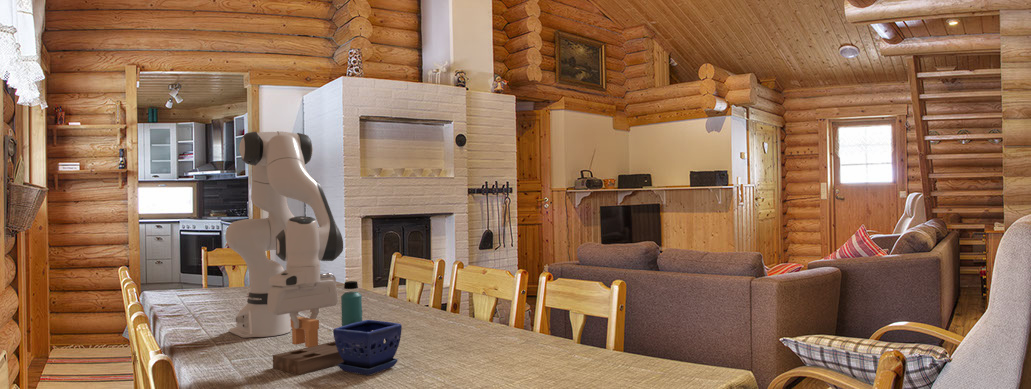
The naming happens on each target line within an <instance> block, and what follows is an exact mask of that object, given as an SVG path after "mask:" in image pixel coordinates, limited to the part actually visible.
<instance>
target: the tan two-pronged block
mask: <svg viewBox="0 0 1031 389" xmlns="http://www.w3.org/2000/svg"><path fill="white" fill-rule="evenodd" d="M297 318H298V320H299V321H302V328H298V329H296V328H294V322H293V321H292V319H291V318H290V322H291V327H292V329H291V333H292V334H291V336H292V338H291V339H292V342H291V343H292V345H302V344H304V348H307V347H314V346H318V345H319V330H320V320H319V319H317V318H316V319H310V317H304V316H297Z"/></svg>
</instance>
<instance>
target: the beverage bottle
mask: <svg viewBox="0 0 1031 389" xmlns="http://www.w3.org/2000/svg"><path fill="white" fill-rule="evenodd" d="M358 283H359V282H358V281H355V280H350V281H345V282H344V286H343V289H344V290H354V289H356V290H357V289H358V288H359V284H358ZM362 297H363V295H362V294H361V293H360V292H359V291H346V292H344V293H342V295H341V297H340V300H341V303H340V304H341V306H340V307H341V308H340V309H341V324H340V326H345V325H349V324H352V323H356V322H360V321H363V320H364V318H363V306H362V305H363V302H362V301H363V299H362Z"/></svg>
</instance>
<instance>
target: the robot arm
mask: <svg viewBox="0 0 1031 389" xmlns="http://www.w3.org/2000/svg"><path fill="white" fill-rule="evenodd" d="M238 147H239V154H240V157H241V159H242V161H243V163H245V164H247V165H250V166H252V174H251V190H250V191H251V192H250V194H251V195H250V200H251V202H252V204H253V205H254V206H255V207H257V209H260V210H262V211H265V212H267V213H268V217H264V218H245V219H240V220H237V221H236V220H235V221H232V222H231V223H230V224H228V226H227V229H226V230H225V241H226V244H227V246H228V247H229V249H231V250H233V251H234V253H236V254H238V255H239V256H240V257H241V258H242V260H243V261H244V262H245V265H246V266H247V267H246V268H247V270H248V276H249V288H250V289H249V290H250V291H249V293H248V295H247V296H246V298H247V304H245V306H243V308H242V309H241V310H240V311H238V313H237V315H236V317H235V322H236V326H234V327H230V328H229V329H228V332H229V333H231V334H233V335H236V336H238V337H241V338H243V339H245V338H263V337H264V338H265V337H275V336H281V335H284V334H287V333H290V332H292V327H291V319H292V321H293V322H294V328H296V329H298V328H302V321H299V320H298V318H297V317H299V312H305V311H309V313H311V314H310V316H309V318H310V319H317V317H318V315H319V313H320V310H319V309H323V308H327V307H333V306H337V304H338V302H339V295H338V289H337V279H336V278H337V277H336V276H335V275H334V274H332V273H331V272H327V273H321V262H333V261H334V260H336V259H338V257H340V255H341V254H342V253H343V252H344V251H343V250H344V238H343V235H342V233H341V231H340V229H339V227H338V225H337V223H336V221H335V219H334V215H333V213H332V210H331V207H330V205H329V202H328V200H327V196H326V195H325V192H324V189H323V188H322V185H321V184H320V182H319V181H318V180H316V179H314V178H313V177H312V176H311V175H310V174H309V172H308V170H307V168H306V165H307V164H308V163H309V162H310V161H311V159H312V156H313V151H314V147H313V143H312V140H311V138H310V137H309V135H307V134H304V133H301V132H297V133H294V132H288V131H262V132H257V131H249V132H247V133H245V134H243V135H242V137H241V140H240V142H239V146H238ZM288 198H289V199H293V200H297V201H299V202H302V203H304V204H306V205H308V206H309V207H311V209H312V212H313V214H314V217H315V218H314V217H312V216H304V215H302V216H296V215H294V214H293V213H292V211H291V210H290V207H289V205H288ZM267 251H268V252H269V251H275V256H277V257H278V258H279V259H281V261H283V262H286V265H285V266H286V267H285V268H286V269H284V267H283V266H282V264H280V263H279V262H277V261H275V260H272V259H270V258H268V256H267V253H266V252H267Z"/></svg>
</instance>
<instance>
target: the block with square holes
mask: <svg viewBox="0 0 1031 389" xmlns="http://www.w3.org/2000/svg"><path fill="white" fill-rule="evenodd" d="M343 351H344V349H343ZM342 362H344V361H343V359H342V358H341V356H340V354H339V352H338V350H337V347H336V344H335V340H334V341H331V342H325V343H321V344H318V346H314V347H303V348H299V349H295V350H290V351H286V352H282V353H276V354H272V369H275V370H280V371H283V372H287V373H290V374H292V375H293V374H294V375H298V376H300V375H304V374H308V373H312V372H316V371H319V370H323V369H328V368H331V367H335V366H338V364H339V363H342Z"/></svg>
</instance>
